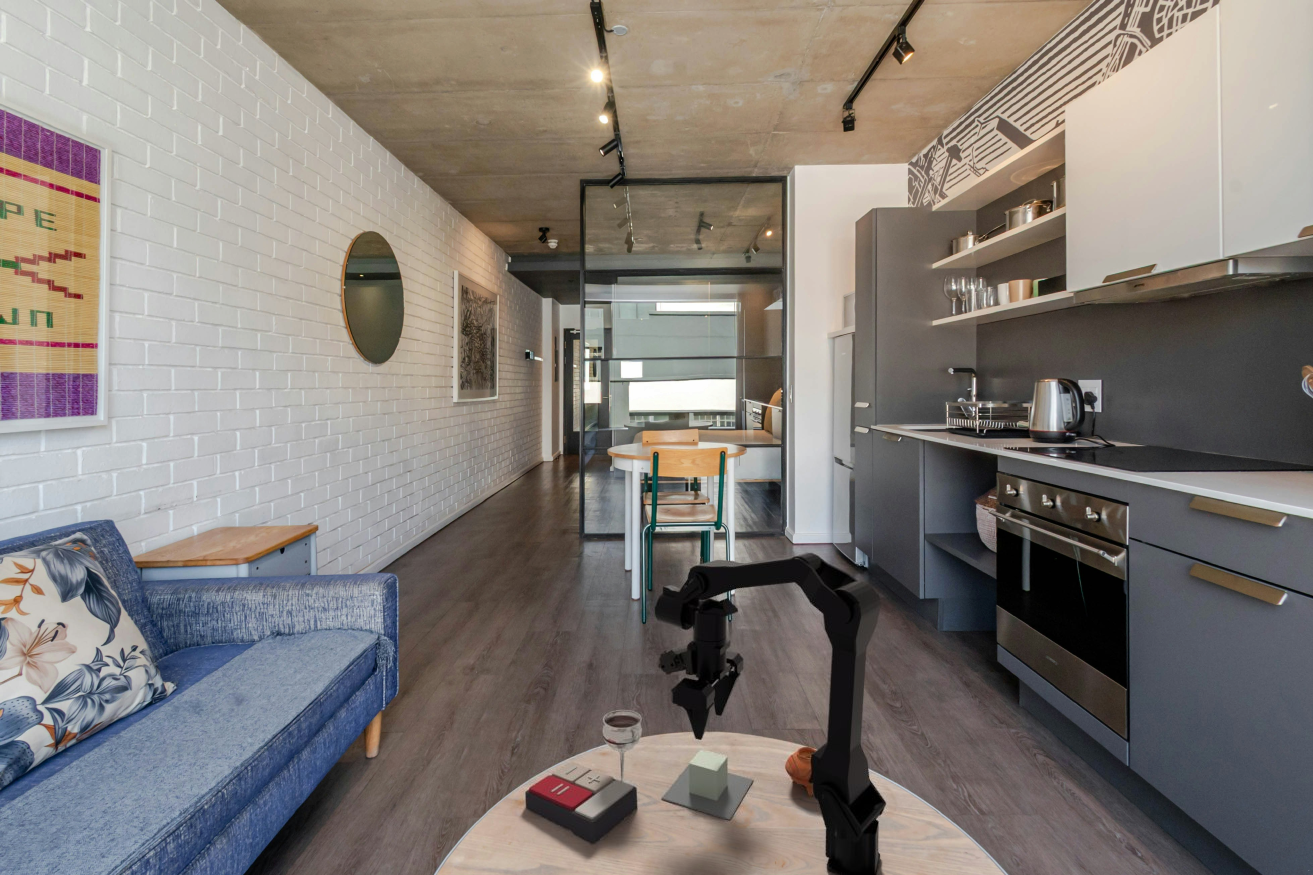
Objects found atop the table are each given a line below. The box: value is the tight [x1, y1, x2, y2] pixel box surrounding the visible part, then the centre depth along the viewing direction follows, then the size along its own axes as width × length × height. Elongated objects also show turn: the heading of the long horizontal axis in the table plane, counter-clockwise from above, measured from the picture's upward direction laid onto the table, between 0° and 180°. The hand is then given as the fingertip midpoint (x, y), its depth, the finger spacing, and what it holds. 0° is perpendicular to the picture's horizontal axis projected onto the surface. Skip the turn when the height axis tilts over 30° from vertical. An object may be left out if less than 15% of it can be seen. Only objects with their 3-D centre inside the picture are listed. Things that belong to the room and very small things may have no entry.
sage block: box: [688, 749, 729, 801], centre depth 104 cm, size 5×5×5 cm
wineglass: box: [602, 709, 643, 789], centre depth 105 cm, size 7×7×12 cm
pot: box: [784, 746, 818, 797], centre depth 106 cm, size 8×8×7 cm
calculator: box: [524, 761, 638, 845], centre depth 100 cm, size 11×4×15 cm
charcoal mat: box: [661, 764, 754, 821], centre depth 105 cm, size 12×12×1 cm
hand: (709, 726), depth 104 cm, fingers open, 9 cm apart
